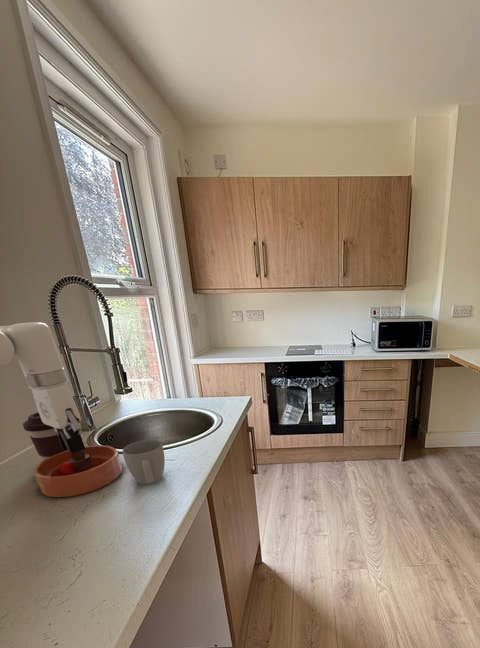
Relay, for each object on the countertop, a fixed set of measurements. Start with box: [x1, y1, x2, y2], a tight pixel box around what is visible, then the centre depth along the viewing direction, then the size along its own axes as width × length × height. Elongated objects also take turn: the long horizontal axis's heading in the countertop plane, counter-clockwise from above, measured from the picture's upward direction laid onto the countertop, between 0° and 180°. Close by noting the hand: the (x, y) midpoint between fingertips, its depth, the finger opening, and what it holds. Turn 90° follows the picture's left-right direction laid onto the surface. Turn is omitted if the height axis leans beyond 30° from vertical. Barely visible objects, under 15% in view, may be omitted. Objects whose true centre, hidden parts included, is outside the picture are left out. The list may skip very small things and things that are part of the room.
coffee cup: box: [22, 412, 68, 461], centre depth 96 cm, size 10×10×15 cm
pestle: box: [59, 427, 94, 473], centre depth 88 cm, size 4×4×11 cm
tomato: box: [59, 462, 74, 476], centre depth 89 cm, size 4×4×4 cm
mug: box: [122, 439, 166, 486], centre depth 85 cm, size 12×9×10 cm
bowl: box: [33, 444, 123, 498], centre depth 88 cm, size 17×17×6 cm
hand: (74, 448), depth 88 cm, fingers closed on pestle, 3 cm apart
